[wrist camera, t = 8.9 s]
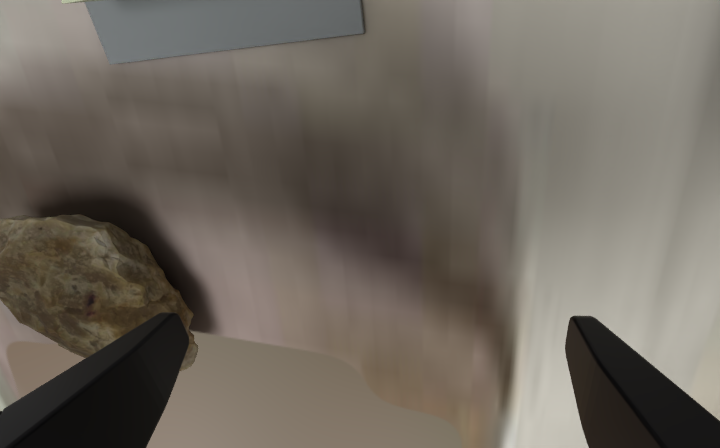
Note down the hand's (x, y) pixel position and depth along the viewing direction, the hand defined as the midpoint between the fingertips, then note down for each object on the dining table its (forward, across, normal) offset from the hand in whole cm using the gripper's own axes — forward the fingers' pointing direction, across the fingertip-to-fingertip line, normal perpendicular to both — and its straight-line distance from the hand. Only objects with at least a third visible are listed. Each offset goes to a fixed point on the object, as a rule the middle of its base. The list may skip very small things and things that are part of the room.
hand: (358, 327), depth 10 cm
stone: (+12, +18, +7) cm, 23 cm away
